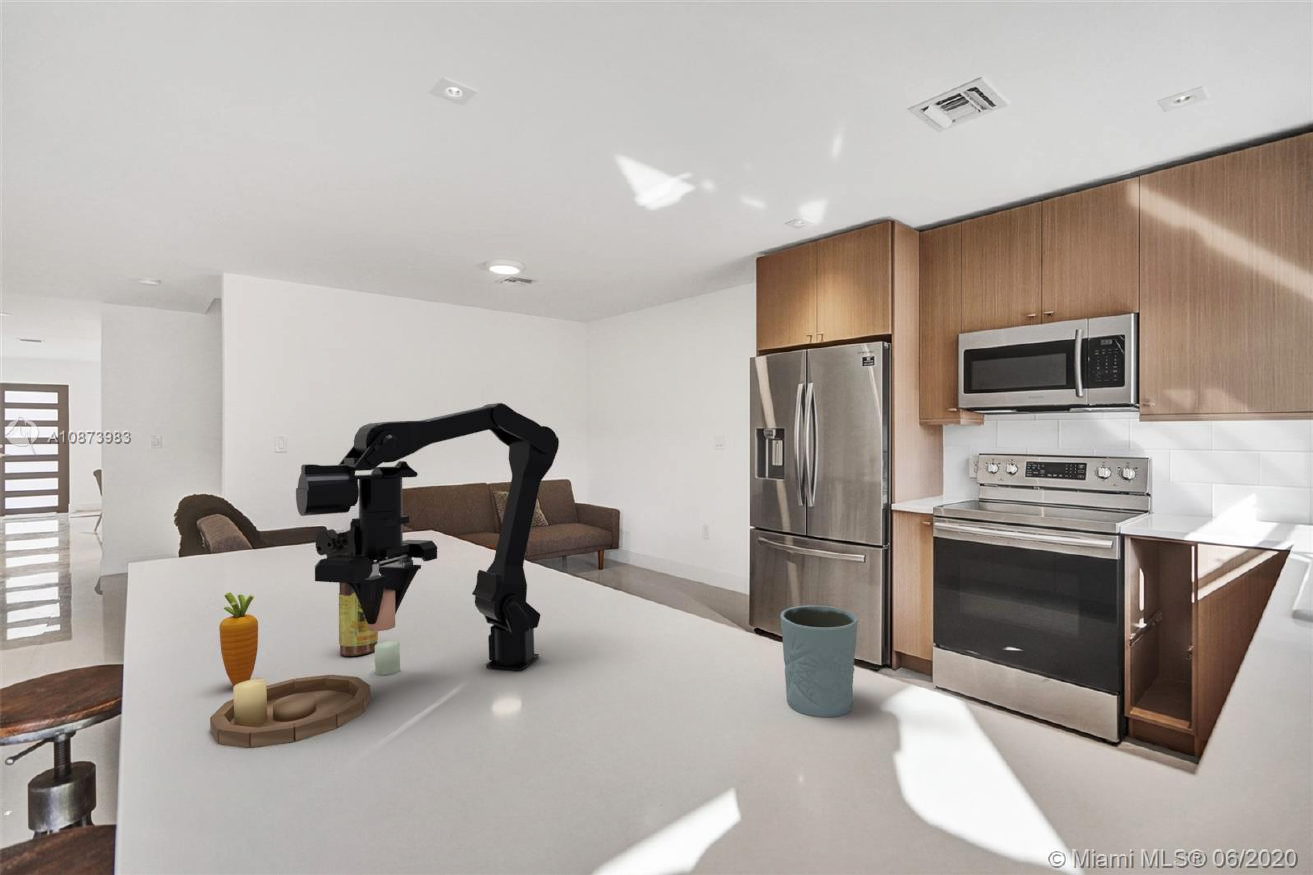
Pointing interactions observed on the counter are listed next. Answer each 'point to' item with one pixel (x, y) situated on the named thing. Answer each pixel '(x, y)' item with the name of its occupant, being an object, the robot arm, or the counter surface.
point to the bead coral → (385, 612)
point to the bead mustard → (250, 703)
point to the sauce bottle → (353, 625)
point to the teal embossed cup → (819, 659)
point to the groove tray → (324, 719)
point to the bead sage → (387, 658)
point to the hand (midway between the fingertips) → (381, 620)
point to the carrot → (239, 640)
